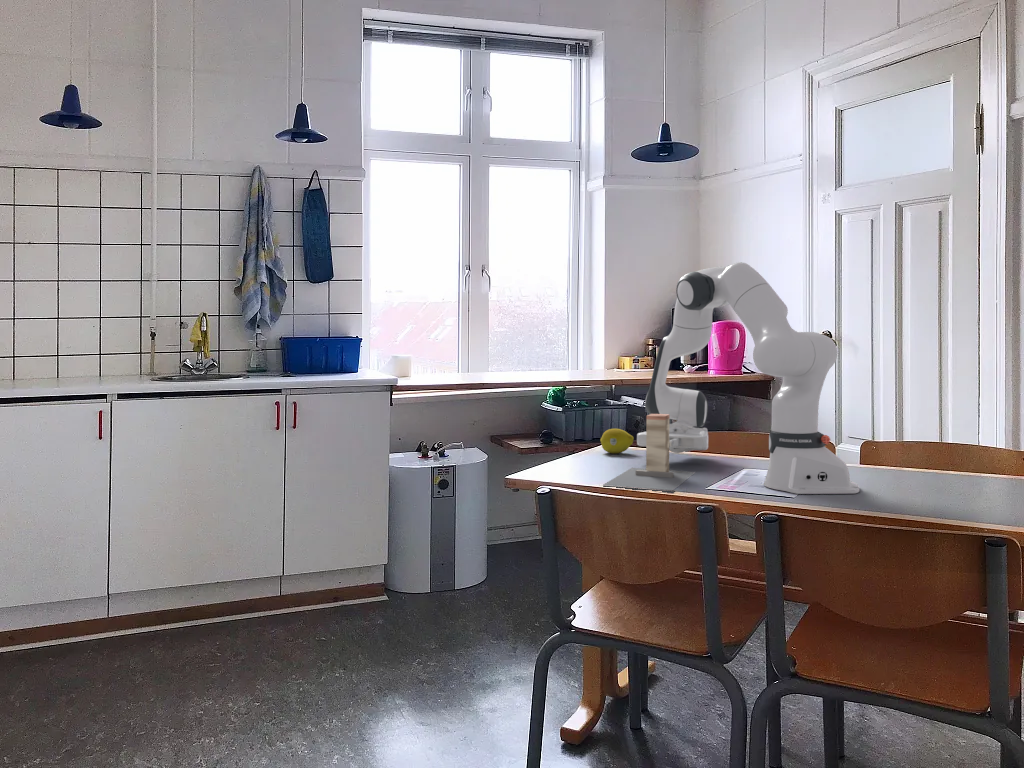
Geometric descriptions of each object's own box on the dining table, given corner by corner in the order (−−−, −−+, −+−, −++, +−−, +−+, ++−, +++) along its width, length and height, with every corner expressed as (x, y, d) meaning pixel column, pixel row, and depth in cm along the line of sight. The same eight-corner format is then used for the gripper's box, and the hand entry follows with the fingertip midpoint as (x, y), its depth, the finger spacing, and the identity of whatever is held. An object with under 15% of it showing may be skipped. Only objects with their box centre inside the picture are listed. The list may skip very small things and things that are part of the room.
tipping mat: (632, 470, 234) (632, 463, 234) (696, 474, 227) (696, 467, 226) (603, 487, 211) (603, 480, 210) (673, 493, 203) (673, 485, 203)
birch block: (651, 471, 228) (651, 413, 226) (669, 472, 226) (669, 414, 224) (646, 474, 223) (646, 415, 222) (664, 476, 221) (664, 416, 220)
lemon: (595, 453, 263) (595, 428, 263) (606, 450, 270) (606, 426, 269) (626, 456, 257) (626, 431, 256) (637, 453, 264) (637, 428, 263)
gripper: (643, 425, 248) (630, 431, 236) (712, 428, 240) (702, 434, 227) (643, 446, 249) (630, 453, 236) (712, 449, 240) (702, 457, 227)
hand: (666, 443), depth 231 cm, fingers closed
